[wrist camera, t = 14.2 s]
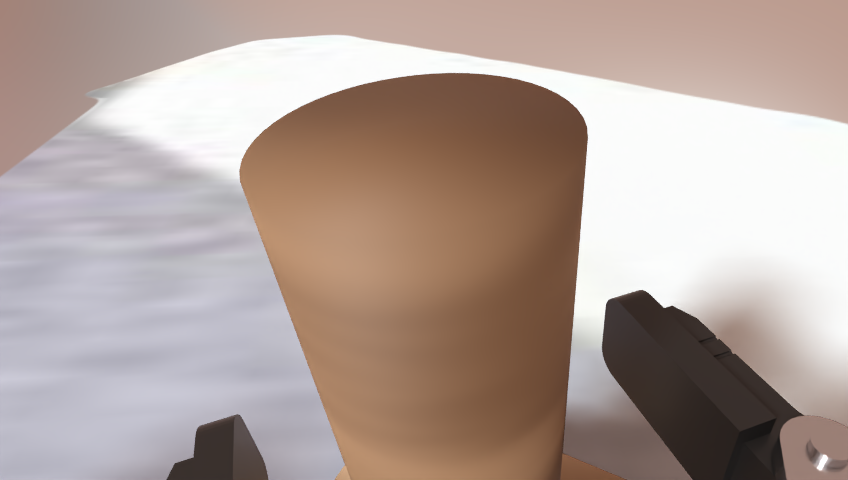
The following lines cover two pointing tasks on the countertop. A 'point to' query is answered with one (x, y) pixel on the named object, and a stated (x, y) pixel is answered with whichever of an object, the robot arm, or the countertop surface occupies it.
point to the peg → (430, 268)
